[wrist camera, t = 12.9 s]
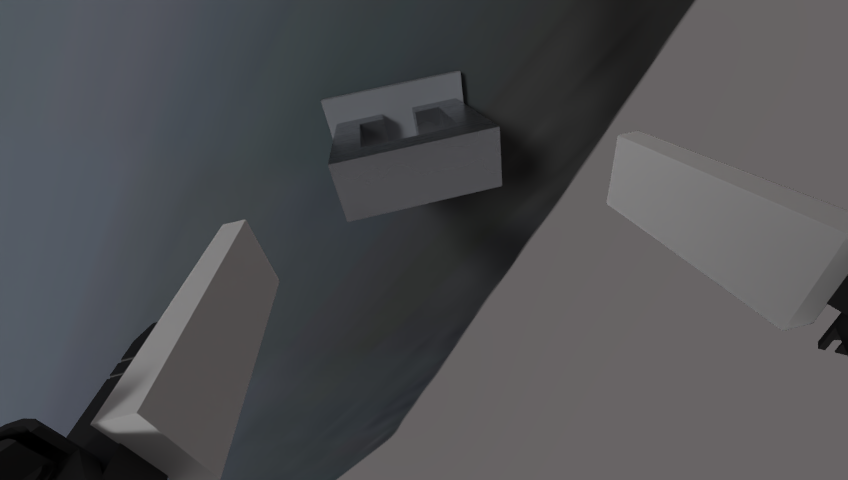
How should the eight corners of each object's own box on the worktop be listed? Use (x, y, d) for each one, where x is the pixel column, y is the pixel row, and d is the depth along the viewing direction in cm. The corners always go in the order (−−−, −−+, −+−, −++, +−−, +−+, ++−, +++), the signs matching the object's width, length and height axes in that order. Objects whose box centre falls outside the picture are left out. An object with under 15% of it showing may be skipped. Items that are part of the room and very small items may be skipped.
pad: (321, 99, 21) (320, 101, 21) (458, 70, 22) (460, 71, 21) (348, 185, 24) (348, 188, 24) (466, 158, 25) (468, 161, 24)
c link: (350, 167, 23) (347, 222, 16) (336, 123, 21) (328, 164, 15) (460, 142, 24) (502, 185, 17) (455, 97, 22) (499, 126, 15)
